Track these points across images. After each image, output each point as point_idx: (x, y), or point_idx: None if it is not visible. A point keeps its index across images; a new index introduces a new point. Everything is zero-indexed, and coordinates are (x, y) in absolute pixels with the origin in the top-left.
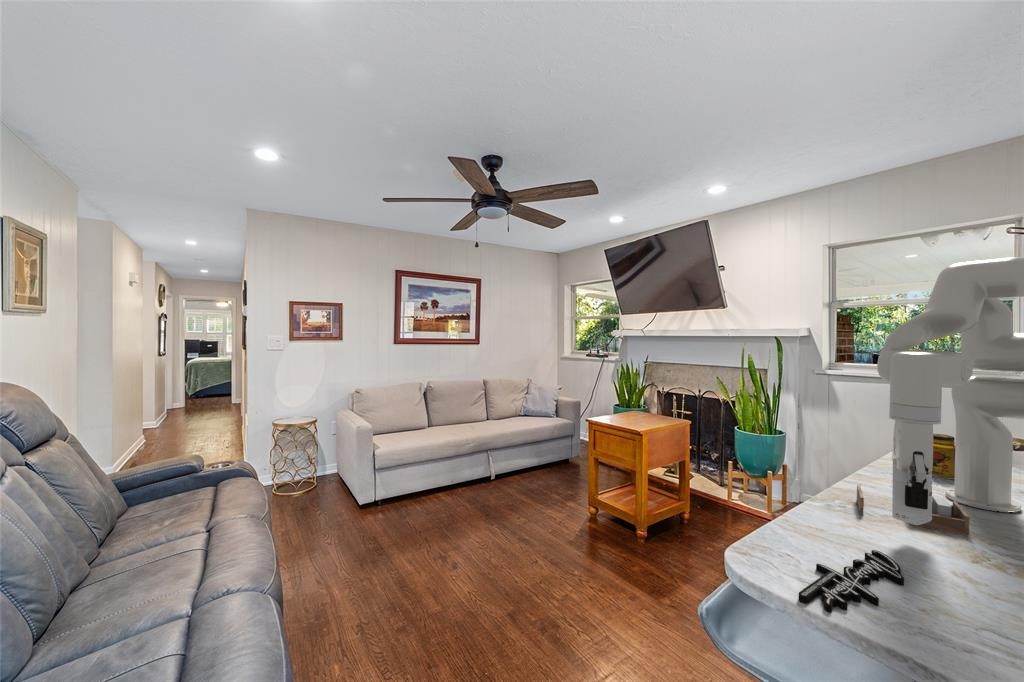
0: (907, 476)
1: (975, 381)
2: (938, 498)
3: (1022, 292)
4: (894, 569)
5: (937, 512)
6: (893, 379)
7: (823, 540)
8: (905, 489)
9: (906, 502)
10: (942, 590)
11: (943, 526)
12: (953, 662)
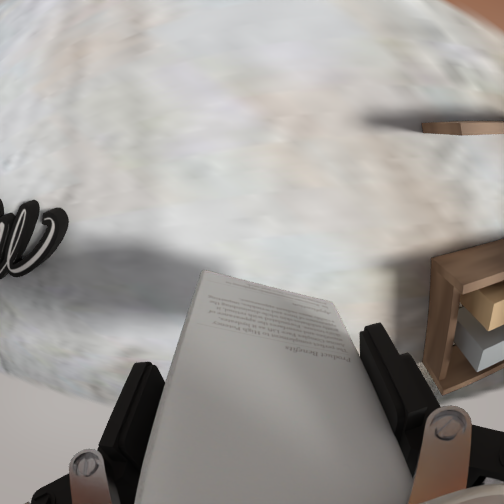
0: (83, 502)
1: None
2: None
3: None
4: (7, 267)
5: (476, 330)
6: None
7: (60, 88)
8: (107, 426)
9: (132, 375)
10: (39, 327)
11: (432, 331)
12: None
